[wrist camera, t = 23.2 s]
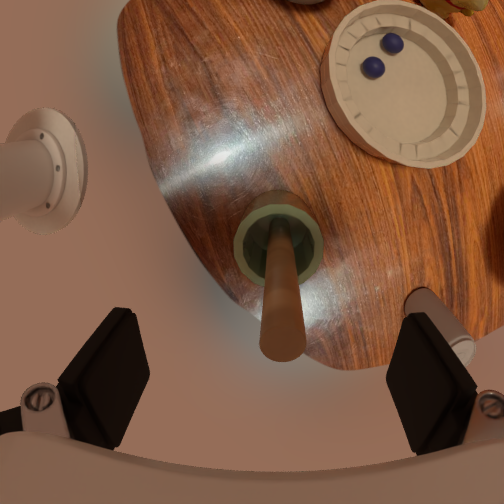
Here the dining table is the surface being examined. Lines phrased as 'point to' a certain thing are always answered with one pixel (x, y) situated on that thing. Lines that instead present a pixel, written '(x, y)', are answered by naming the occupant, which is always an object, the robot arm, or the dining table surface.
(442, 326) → the beverage can
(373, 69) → the berry
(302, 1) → the cup
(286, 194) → the crock
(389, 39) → the berry
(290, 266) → the stick
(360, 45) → the bowl
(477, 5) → the chocolate bunny
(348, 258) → the dining table surface
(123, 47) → the dining table surface
